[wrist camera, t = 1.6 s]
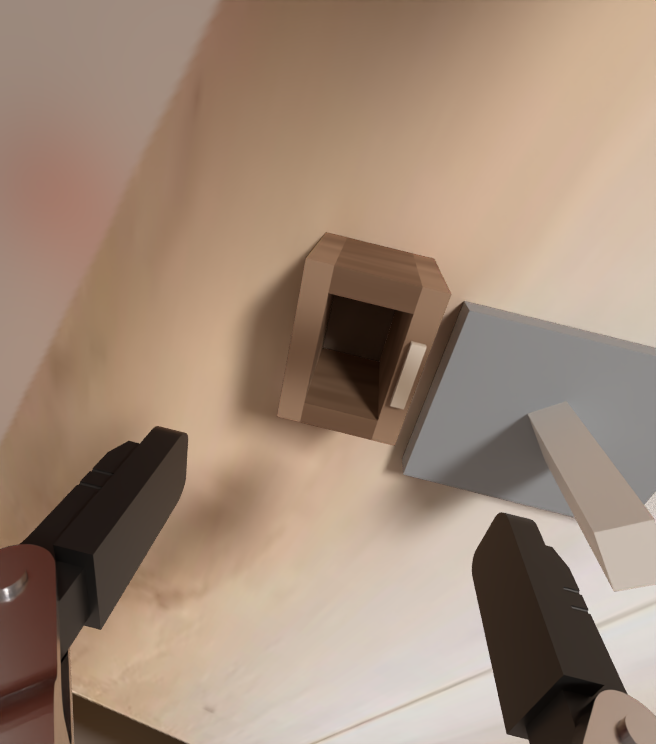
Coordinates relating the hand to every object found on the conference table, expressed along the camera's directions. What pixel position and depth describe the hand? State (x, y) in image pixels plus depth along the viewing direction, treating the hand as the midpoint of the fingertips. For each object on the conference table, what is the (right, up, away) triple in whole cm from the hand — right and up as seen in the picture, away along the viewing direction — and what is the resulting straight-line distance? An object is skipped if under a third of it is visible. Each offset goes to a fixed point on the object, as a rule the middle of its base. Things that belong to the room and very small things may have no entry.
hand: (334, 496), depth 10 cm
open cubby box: (+2, +6, +12) cm, 14 cm away
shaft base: (+13, +1, +13) cm, 18 cm away
